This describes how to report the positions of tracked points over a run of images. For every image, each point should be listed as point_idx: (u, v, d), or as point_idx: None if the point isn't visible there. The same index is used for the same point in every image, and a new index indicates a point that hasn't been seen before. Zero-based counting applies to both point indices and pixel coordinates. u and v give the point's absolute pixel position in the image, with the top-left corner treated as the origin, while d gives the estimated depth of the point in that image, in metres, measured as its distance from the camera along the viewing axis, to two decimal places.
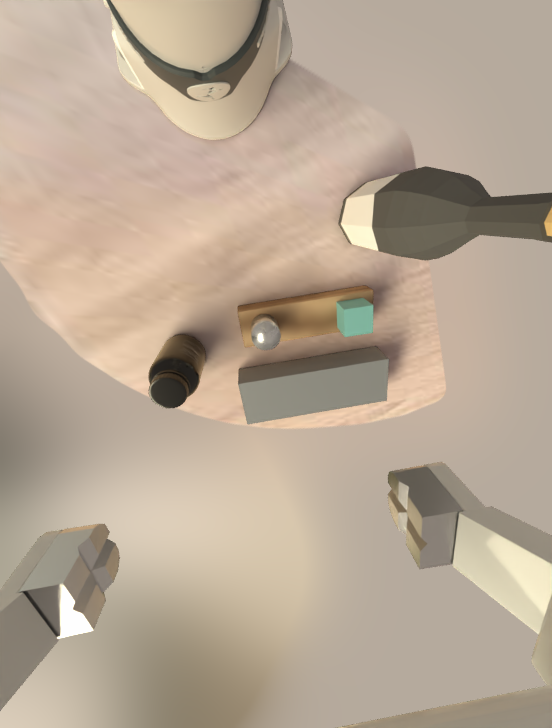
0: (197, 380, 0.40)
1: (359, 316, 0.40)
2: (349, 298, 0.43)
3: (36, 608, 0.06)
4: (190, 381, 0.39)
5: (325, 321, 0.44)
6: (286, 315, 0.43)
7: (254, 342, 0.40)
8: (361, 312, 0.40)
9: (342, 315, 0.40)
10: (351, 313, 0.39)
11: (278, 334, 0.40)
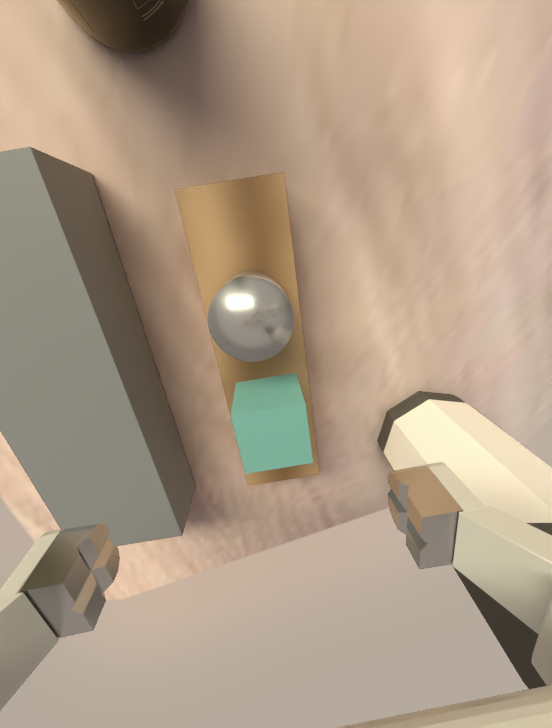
0: None
1: (286, 439, 0.16)
2: None
3: (36, 608, 0.06)
4: None
5: None
6: None
7: (229, 286, 0.13)
8: (296, 442, 0.16)
9: (283, 398, 0.16)
10: (294, 421, 0.16)
11: (260, 355, 0.14)
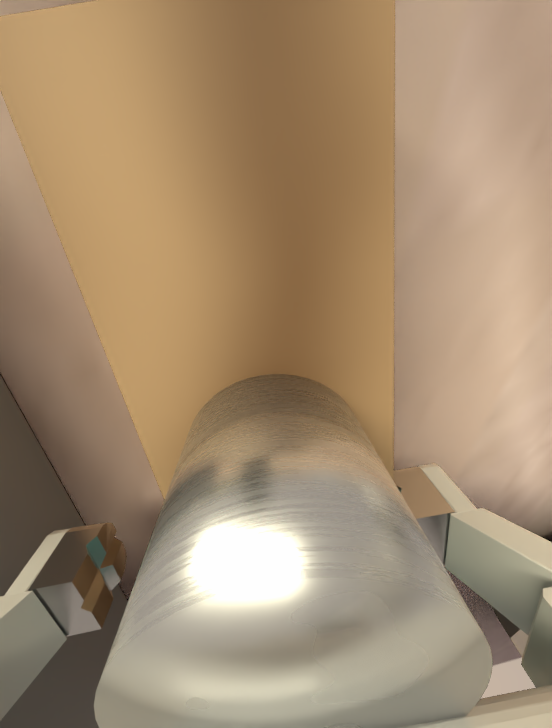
0: None
1: None
2: None
3: (45, 606, 0.06)
4: None
5: None
6: None
7: (198, 621, 0.02)
8: None
9: None
10: None
11: None
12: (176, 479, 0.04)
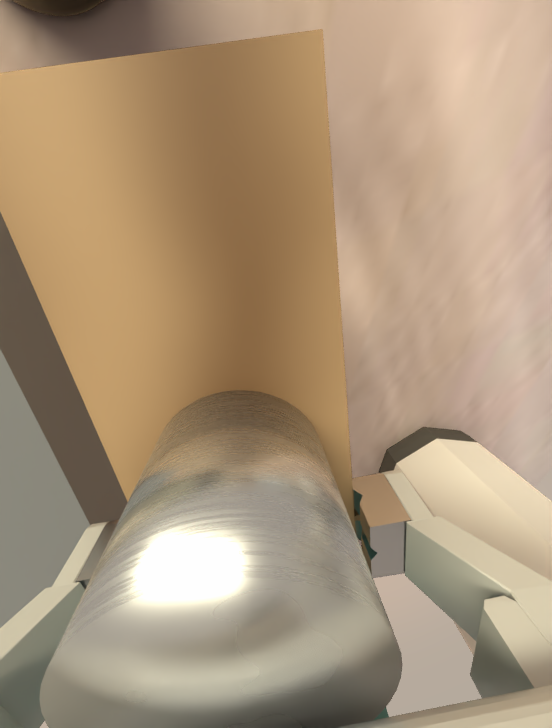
0: None
1: None
2: None
3: None
4: None
5: None
6: None
7: (129, 617, 0.03)
8: None
9: None
10: None
11: None
12: (135, 491, 0.05)
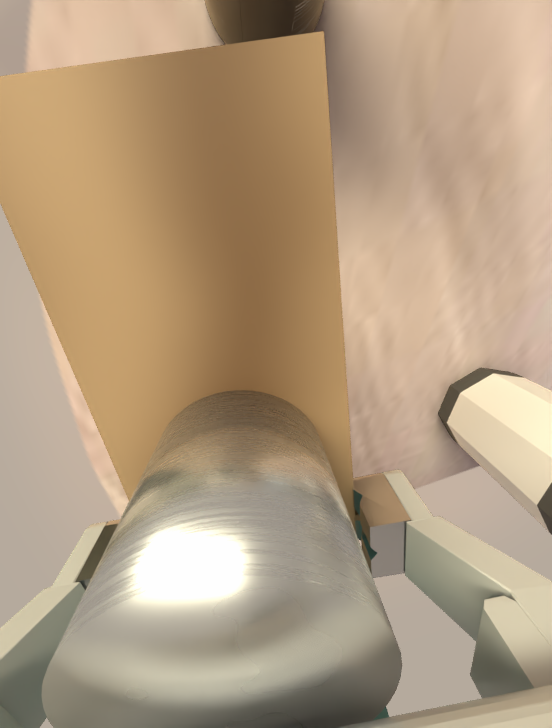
0: None
1: None
2: None
3: None
4: None
5: None
6: None
7: (130, 615, 0.03)
8: None
9: None
10: None
11: None
12: (136, 490, 0.05)
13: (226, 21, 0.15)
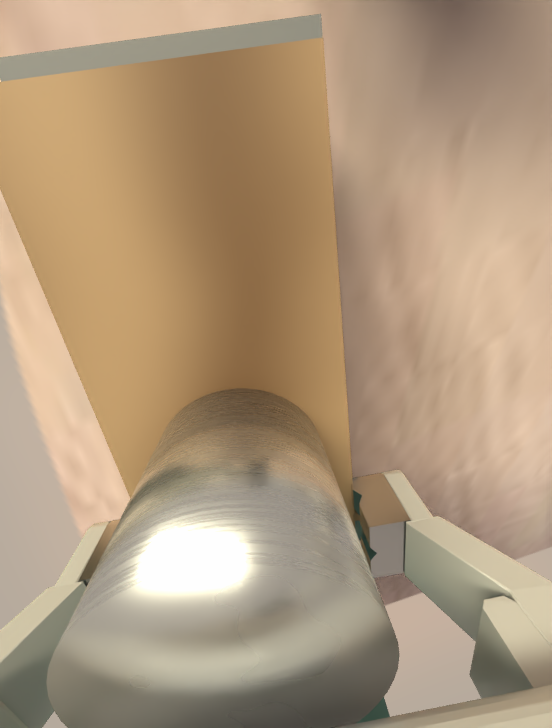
0: None
1: None
2: None
3: None
4: None
5: None
6: None
7: (134, 602, 0.03)
8: None
9: None
10: None
11: None
12: (138, 485, 0.05)
13: None
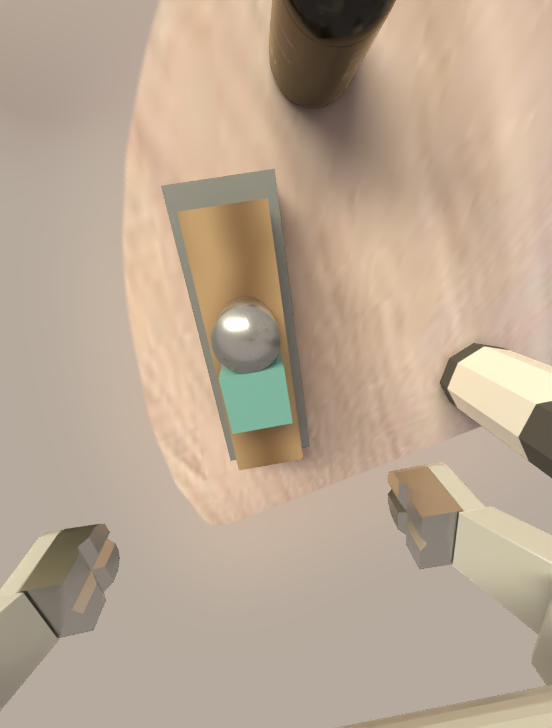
0: (337, 32, 0.15)
1: (268, 401, 0.18)
2: (290, 425, 0.24)
3: (36, 608, 0.06)
4: (348, 1, 0.14)
5: None
6: None
7: (229, 313, 0.16)
8: (277, 404, 0.19)
9: None
10: (275, 384, 0.18)
11: (252, 368, 0.17)
12: (220, 314, 0.18)
13: (290, 81, 0.21)
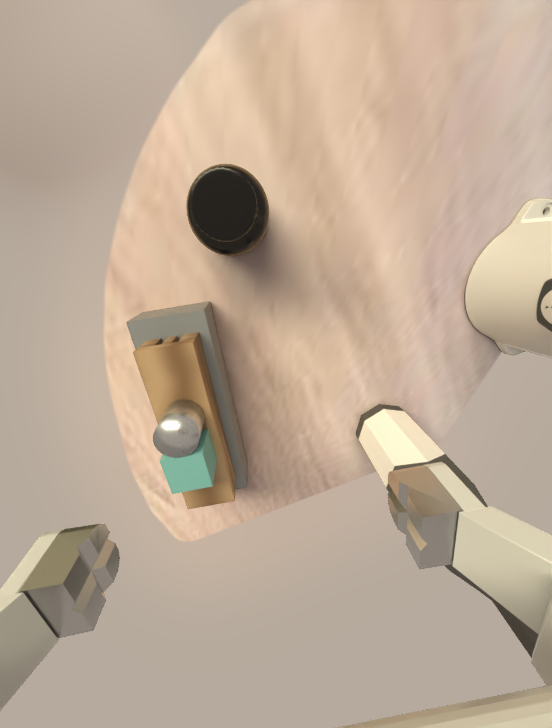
0: (227, 253, 0.25)
1: (194, 473, 0.28)
2: (223, 478, 0.33)
3: (36, 608, 0.06)
4: None
5: None
6: None
7: (163, 424, 0.26)
8: (200, 475, 0.28)
9: None
10: (198, 463, 0.27)
11: (181, 454, 0.27)
12: (162, 416, 0.28)
13: None
